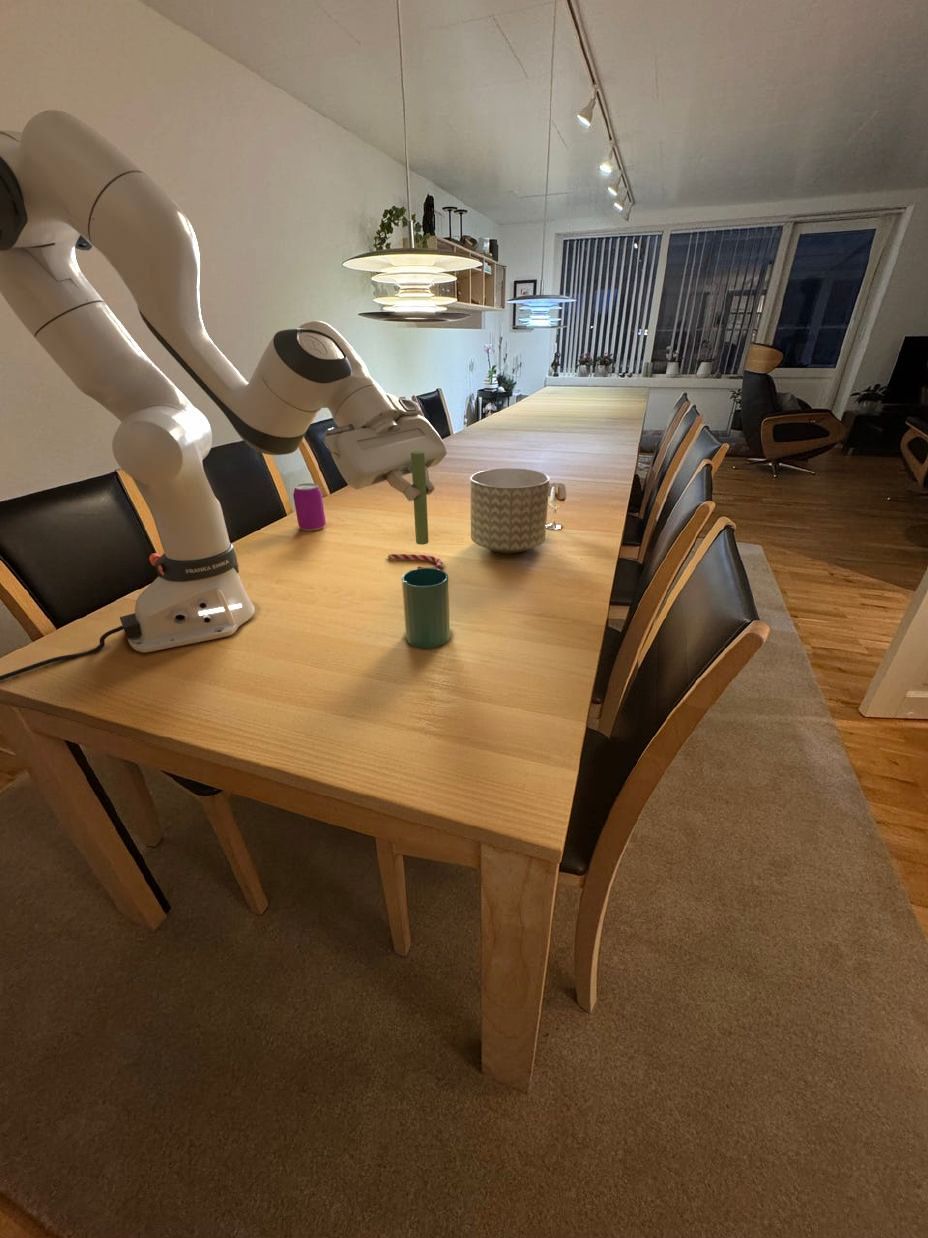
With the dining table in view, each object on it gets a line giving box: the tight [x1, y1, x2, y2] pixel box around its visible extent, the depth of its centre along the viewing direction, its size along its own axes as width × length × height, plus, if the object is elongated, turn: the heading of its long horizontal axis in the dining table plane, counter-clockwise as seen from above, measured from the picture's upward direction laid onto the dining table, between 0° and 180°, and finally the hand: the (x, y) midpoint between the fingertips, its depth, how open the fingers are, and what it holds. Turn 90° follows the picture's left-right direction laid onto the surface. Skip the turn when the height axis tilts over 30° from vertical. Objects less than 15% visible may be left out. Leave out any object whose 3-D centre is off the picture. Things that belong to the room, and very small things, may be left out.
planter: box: [470, 467, 550, 555], centre depth 129 cm, size 19×19×18 cm
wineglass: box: [546, 482, 567, 531], centre depth 144 cm, size 6×6×12 cm
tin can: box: [401, 568, 451, 649], centre depth 92 cm, size 8×8×12 cm
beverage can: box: [292, 482, 327, 532], centre depth 146 cm, size 8×8×12 cm
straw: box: [411, 451, 429, 546], centre depth 79 cm, size 2×2×14 cm
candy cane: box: [387, 553, 444, 570], centre depth 124 cm, size 8×1×15 cm
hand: (422, 495), depth 78 cm, fingers closed on straw, 2 cm apart
